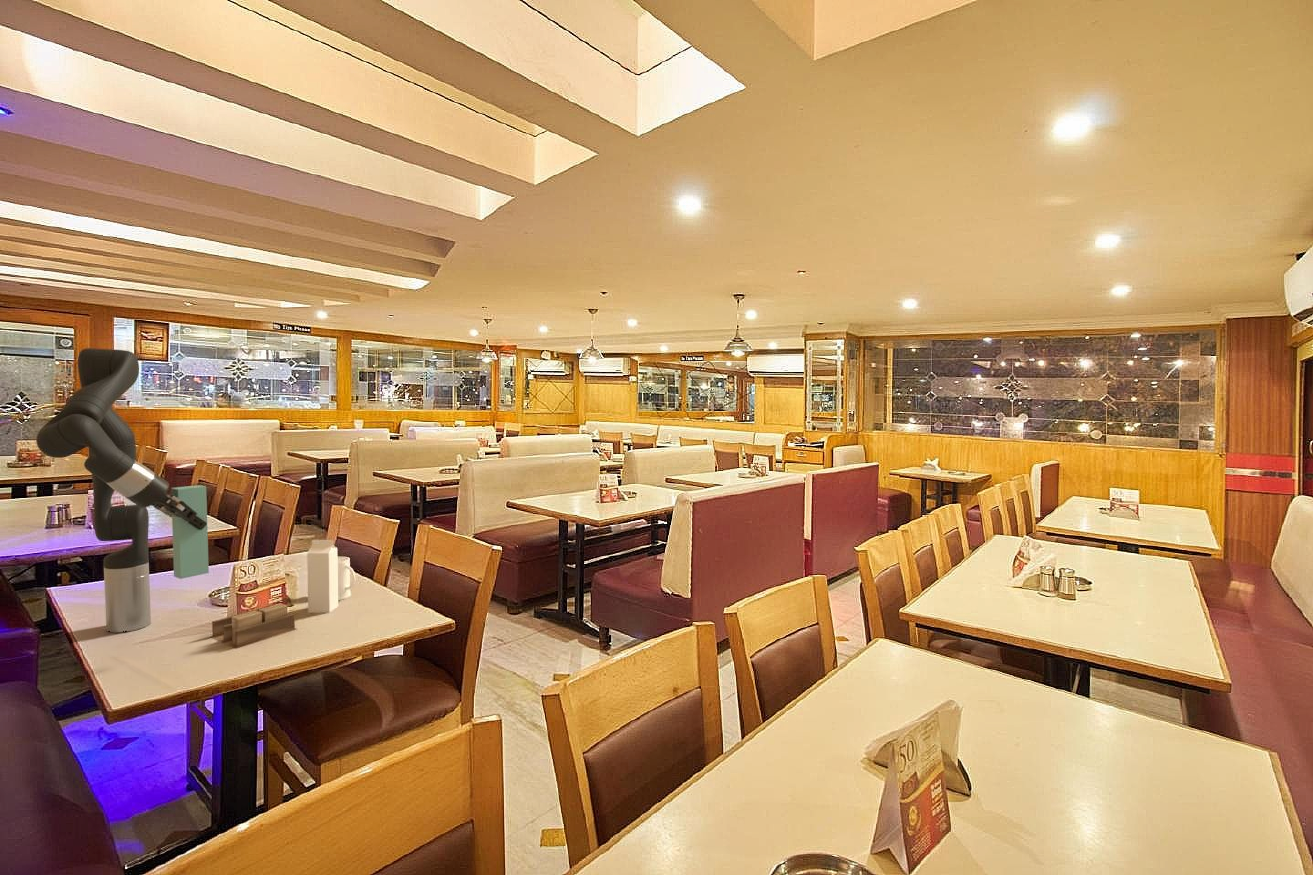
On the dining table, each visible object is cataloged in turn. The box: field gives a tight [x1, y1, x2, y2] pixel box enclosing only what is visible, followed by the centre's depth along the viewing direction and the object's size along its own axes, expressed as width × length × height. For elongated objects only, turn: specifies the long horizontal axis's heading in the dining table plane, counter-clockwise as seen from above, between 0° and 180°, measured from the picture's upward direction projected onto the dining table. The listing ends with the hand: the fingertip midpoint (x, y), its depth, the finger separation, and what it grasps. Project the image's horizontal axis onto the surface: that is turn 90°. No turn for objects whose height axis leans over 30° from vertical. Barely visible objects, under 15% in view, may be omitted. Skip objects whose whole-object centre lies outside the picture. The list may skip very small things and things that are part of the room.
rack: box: [210, 605, 298, 650], centre depth 161 cm, size 13×15×6 cm
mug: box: [338, 556, 357, 602], centre depth 193 cm, size 12×8×12 cm
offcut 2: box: [258, 603, 288, 623], centre depth 162 cm, size 3×6×6 cm, turn 150°
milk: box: [306, 539, 339, 614], centre depth 179 cm, size 6×6×22 cm
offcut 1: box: [232, 609, 262, 643], centre depth 156 cm, size 3×6×6 cm, turn 150°
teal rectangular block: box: [170, 484, 210, 580], centre depth 152 cm, size 4×6×22 cm, turn 150°
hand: (199, 525), depth 153 cm, fingers closed on teal rectangular block, 3 cm apart
